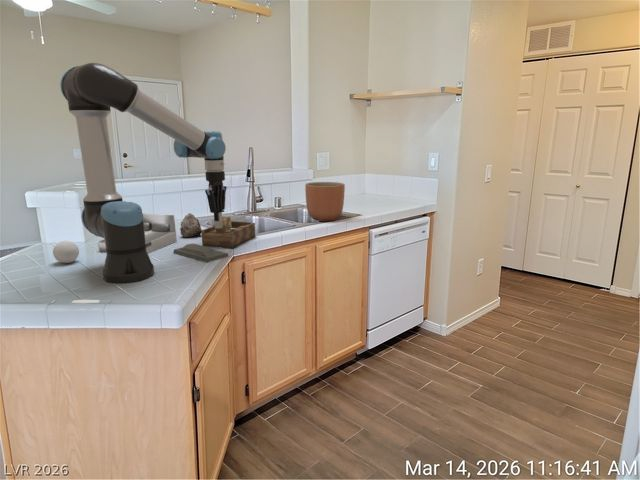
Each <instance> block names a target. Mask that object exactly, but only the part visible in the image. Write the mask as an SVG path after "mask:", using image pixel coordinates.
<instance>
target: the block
mask: <svg viewBox="0 0 640 480" xmlns="http://www.w3.org/2000/svg"><path fill="white" fill-rule="evenodd" d="M231 221H232V218H231V216H230V215H222V223H223V228H221V229H218V228H215V230H216V231H227V230H229V229H230V228H231V227H232V225H231ZM213 223H214V224H213V225H215V222H214V221H213Z"/></svg>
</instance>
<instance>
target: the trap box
mask: <svg viewBox="0 0 640 480" xmlns="http://www.w3.org/2000/svg"><path fill="white" fill-rule="evenodd" d="M231 225H232V227H231V228H230V229H229V230H227V231H216V230H215V224H213V225H211V226H209V227H207V228H204V229H202V230H201V243H202V244H201V245H202V246H206V247H210V248H220V247H221V248H223V249H235V248H237V247H239V246H241V245H243V244H244V243H247V242H248V241H250V240H253V239H255V238H256V222H250V221H236V220H235V221H234V220H231ZM254 237H255V238H254ZM221 248H220V249H221Z"/></svg>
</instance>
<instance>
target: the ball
mask: <svg viewBox="0 0 640 480" xmlns="http://www.w3.org/2000/svg"><path fill="white" fill-rule="evenodd" d="M52 255H53V257H54V259H55V260H56V261H57V262H58V263H59V262H60V263H61V264H70V263H72V262H74V261H76V260H77V259H78V257H79V255H80V249H79V246H78V245H77V244H76V243H75V242H73V241H71V240H62V241H59V242H58V243H56V244H55V245H54V246H53V249H52Z"/></svg>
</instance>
